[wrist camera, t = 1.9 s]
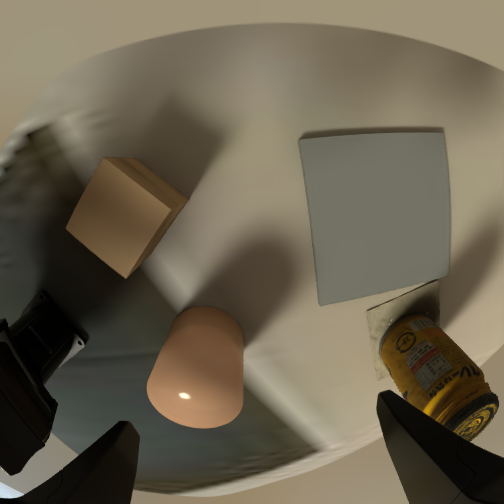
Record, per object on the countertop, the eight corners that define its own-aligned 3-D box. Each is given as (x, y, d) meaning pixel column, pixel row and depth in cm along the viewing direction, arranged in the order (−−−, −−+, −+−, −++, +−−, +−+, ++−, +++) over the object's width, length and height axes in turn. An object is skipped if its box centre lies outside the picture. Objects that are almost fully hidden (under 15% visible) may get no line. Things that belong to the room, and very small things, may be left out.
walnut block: (151, 254, 21) (125, 278, 16) (101, 214, 20) (65, 228, 15) (189, 199, 20) (171, 209, 15) (135, 158, 19) (103, 157, 14)
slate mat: (318, 302, 22) (320, 306, 21) (297, 140, 18) (299, 139, 18) (444, 273, 21) (448, 275, 21) (439, 133, 18) (443, 133, 18)
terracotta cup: (203, 377, 24) (192, 437, 17) (155, 330, 22) (128, 385, 16) (258, 345, 23) (262, 406, 16) (210, 291, 21) (196, 345, 15)
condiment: (377, 379, 25) (425, 472, 13) (365, 310, 22) (437, 412, 11) (438, 349, 24) (501, 424, 12) (436, 278, 22) (527, 348, 10)
